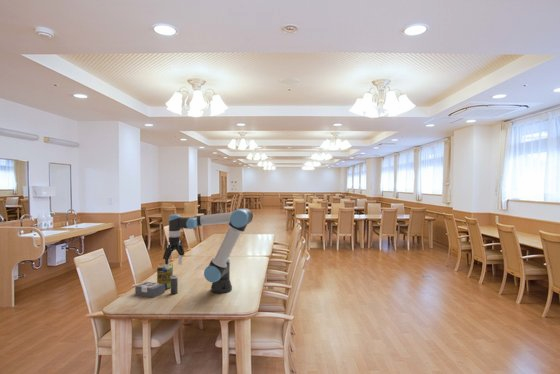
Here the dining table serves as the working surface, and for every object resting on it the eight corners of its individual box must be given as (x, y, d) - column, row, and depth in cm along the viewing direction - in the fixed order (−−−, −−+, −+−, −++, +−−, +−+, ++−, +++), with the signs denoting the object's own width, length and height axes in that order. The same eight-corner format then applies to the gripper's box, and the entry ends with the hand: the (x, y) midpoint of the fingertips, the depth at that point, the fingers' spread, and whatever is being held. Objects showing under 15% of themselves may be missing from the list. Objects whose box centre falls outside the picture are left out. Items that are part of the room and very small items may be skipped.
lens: (179, 292, 233) (179, 275, 233) (174, 294, 228) (174, 277, 228) (173, 291, 234) (173, 274, 234) (169, 293, 230) (169, 276, 230)
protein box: (156, 289, 240) (157, 268, 240) (158, 283, 255) (158, 263, 255) (171, 288, 243) (172, 267, 243) (172, 282, 258) (173, 262, 258)
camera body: (165, 292, 233) (165, 283, 233) (153, 297, 222) (153, 287, 222) (147, 289, 239) (147, 280, 239) (134, 294, 227) (134, 285, 227)
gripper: (181, 233, 244) (180, 262, 244) (157, 238, 221) (157, 270, 221) (189, 234, 242) (189, 263, 242) (166, 239, 218) (166, 271, 218)
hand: (173, 266), depth 231 cm, fingers open, 13 cm apart
